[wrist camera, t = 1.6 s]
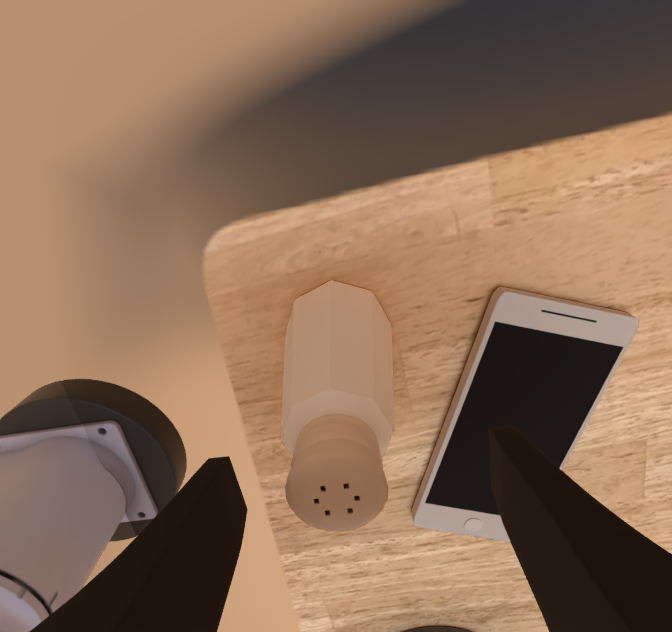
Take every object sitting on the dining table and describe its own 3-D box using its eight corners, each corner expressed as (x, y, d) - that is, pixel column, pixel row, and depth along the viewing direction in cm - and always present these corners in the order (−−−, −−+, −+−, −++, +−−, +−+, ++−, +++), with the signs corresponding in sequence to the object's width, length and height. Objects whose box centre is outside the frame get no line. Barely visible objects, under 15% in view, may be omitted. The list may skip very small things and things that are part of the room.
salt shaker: (386, 272, 20) (435, 405, 10) (394, 369, 22) (441, 561, 12) (276, 285, 20) (213, 426, 10) (294, 380, 22) (256, 576, 12)
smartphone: (408, 515, 26) (411, 528, 25) (494, 284, 20) (501, 290, 19) (517, 532, 27) (523, 546, 26) (632, 312, 21) (645, 320, 20)
